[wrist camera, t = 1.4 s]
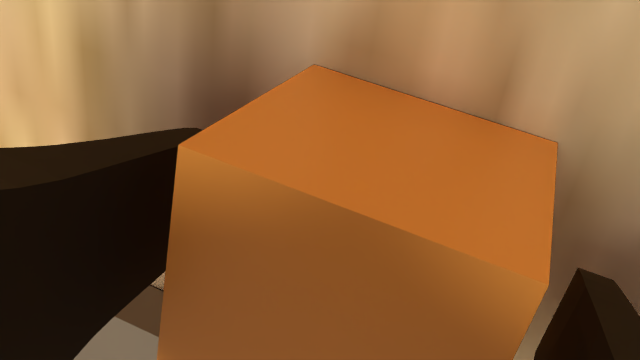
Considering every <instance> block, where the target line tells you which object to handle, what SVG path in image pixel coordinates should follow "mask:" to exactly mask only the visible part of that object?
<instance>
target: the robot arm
mask: <svg viewBox="0 0 640 360" xmlns="http://www.w3.org/2000/svg"><path fill="white" fill-rule="evenodd" d="M201 131H203V130H201V129H198V128H181V129H172V130H164V131H157V132H150V133H143V134H137V135H130V136H123V137H117V138H110V139H103V140H94V141H86V142H77V143H69V144H60V145H50V146H36V147H15V148H0V360H73V359H74V358H75V357H76V356H77V355H78V354H79V353H80V351H81V350H82V349H83V348H84V347H85V346H86V345H87V344H88V342H89V341H90V340H91V339H92V338H93V337H94V336H95V335H96V334H97V333H98V332H99V331H100V330H101V329H102V328H103V327H104V326H105V325H106V324H107V323H108V322H109V321H110V320H111V319H112V318H113V317H114V316H116V315H117V314H118V313H119V312H120V311H121V310H122V309H123V308H125V307H126V306H127V305H128V304H129V303H130V302H131V301H132V300H133V299H135V298H136V297H137V296H138V295H139V294H140V293H141V292H142V291H144V290H145V289H146V288H147V287H148V286H149V285H150V284H151V283H153V282H154V281H155V280H156V279H157V278H158V277H159V276H160V275H161V274H162V273H164V272H165V271H166V262H167V252H168V242H169V232H170V222H171V212H172V202H173V192H174V183H175V173H176V163H177V153H178V145H179V144H181V143H182V142H184V141H186V140H187V139H189V138H191V137H192V136H194V135H196V134H197V133H199V132H201ZM534 360H640V317H639V315H638V314H637V312H636V311H635V309H634V308H633V306H632V305H631V303H630V302H629V300H628V299H627V298H626V296H625V295H624V293H623V292H622V291H621V289H620V288H619V287H618V285H617V284H616V283H615V282H614V281H613V280H611V279H608V278H605V277H603V276H600V275H597V274H594V273H592V272H589V271H586V270H583V269H581V268H578V269H577V271H576V273H575V275H574V277H573V279H572V281H571V283H570V285H569V287H568V289H567V291H566V293H565V295H564V297H563V298H562V300H561V302H560V304H559V306H558V308H557V310H556V312H555V314H554V316H553V318H552V320H551V322H550V324H549V326H548V328H547V330H546V332H545V334H544V336H543V338H542V340H541V342H540V344H539V346H538V348H537V350H536V352H535V357H534Z"/></svg>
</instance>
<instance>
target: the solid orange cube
mask: <svg viewBox="0 0 640 360" xmlns="http://www.w3.org/2000/svg"><path fill="white" fill-rule="evenodd" d="M557 147H558V143H556V142H553V141H550V140H547V139H544V138H540V137H537V136H534V135H531V134H528V133H525V132H522V131H519V130H516V129H513V128H509V127H506V126H503V125H500V124H497V123H494V122H491V121H488V120H485V119H482V118H478V117H475V116H472V115H469V114H466V113H463V112H460V111H457V110H454V109H451V108H447V107H444V106H441V105H438V104H435V103H432V102H429V101H426V100H423V99H420V98H416V97H413V96H410V95H407V94H404V93H401V92H398V91H395V90H392V89H389V88H385V87H382V86H379V85H376V84H373V83H370V82H367V81H364V80H361V79H358V78H354V77H351V76H348V75H345V74H342V73H339V72H336V71H333V70H330V69H327V68H323V67H320V66H317V65H312V66H311V67H309V68H307V69H305V70H304V71H302V72H300V73H299V74H297V75H295V76H294V77H292V78H290V79H289V80H287V81H285V82H284V83H282V84H280V85H278V86H277V87H275V88H273V89H272V90H270V91H268V92H267V93H265V94H263V95H262V96H260V97H258V98H257V99H255V100H253V101H251V102H250V103H248V104H246V105H245V106H243V107H241V108H240V109H238V110H236V111H235V112H233V113H231V114H230V115H228V116H226V117H224V118H223V119H221V120H219V121H218V122H216V123H214V124H213V125H211V126H209V127H208V128H206V129H204V130H203V131H201V132H199V133H197V134H196V135H194V136H192V137H191V138H189V139H187V140H186V141H184V142H182V143H181V144H179V145H178V153H177V163H176V173H175V183H174V192H173V202H172V212H171V222H170V232H169V242H168V252H167V262H166V272H165V282H164V292H163V302H162V312H161V322H160V332H159V342H158V352H157V360H513V358H514V356H515V354H516V352H517V350H518V348H519V346H520V344H521V341H522V339H523V337H524V335H525V333H526V331H527V329H528V327H529V325H530V323H531V321H532V319H533V317H534V315H535V313H536V311H537V309H538V306H539V304H540V302H541V300H542V298H543V296H544V294H545V292H546V290H547V288H548V286H549V275H550V259H551V243H552V227H553V211H554V195H555V179H556V163H557Z"/></svg>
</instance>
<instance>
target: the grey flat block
mask: <svg viewBox="0 0 640 360" xmlns="http://www.w3.org/2000/svg"><path fill="white" fill-rule="evenodd" d="M162 302H163V291H161V290H159V289H156V288H154V287H152V286H150V285H149V286H148V287H147V288H146V289H145V290H144V291H142V292H141V293H140V294H139V295H138V296H137V297H136V298H135V299H133V300H132V301H131V302H130V303H129V304H128V305H127V306H126V307H125V308H123V309H122V310H121V311H120V312H119V313H118V314H117V315H116V316H114V317H113V318H112V319H111V320H110V321H109V322H108V323H107V324H106V325H105V326H104V327H103V328H102V329H101V330H100V331H99V332H98V333H97V334H96V335H95V336H94V337H93V338H92V339H91V340H90V341H89V342H88V344H87V345H86V346H85V347H84V348H83V349H82V350H81V351H80V353H79V354H78V355H77V356H76V357H75V358H74V359H73V360H157V352H158V342H159V332H160V322H161V312H162Z"/></svg>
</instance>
